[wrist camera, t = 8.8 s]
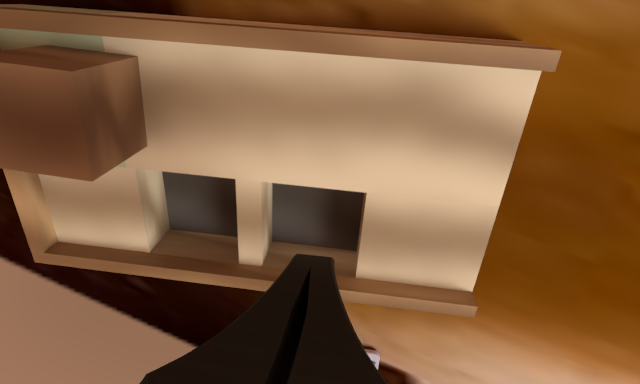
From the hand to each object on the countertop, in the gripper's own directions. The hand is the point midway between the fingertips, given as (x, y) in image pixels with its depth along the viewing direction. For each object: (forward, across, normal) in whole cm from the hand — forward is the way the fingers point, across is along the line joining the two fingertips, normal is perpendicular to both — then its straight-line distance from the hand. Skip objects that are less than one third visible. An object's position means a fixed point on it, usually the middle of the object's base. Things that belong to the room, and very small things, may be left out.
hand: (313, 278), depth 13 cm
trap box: (+10, +4, -1) cm, 11 cm away
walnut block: (+7, +12, -4) cm, 14 cm away
